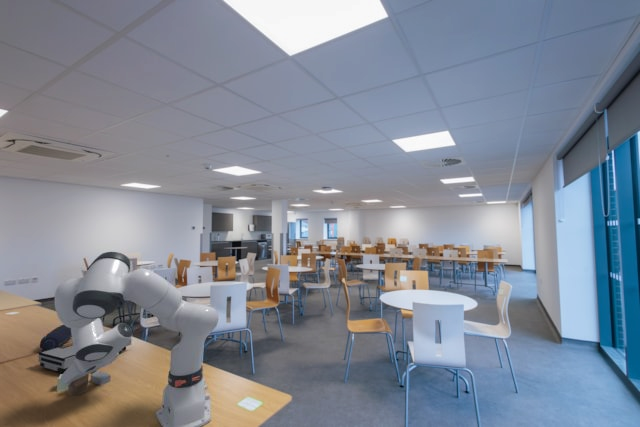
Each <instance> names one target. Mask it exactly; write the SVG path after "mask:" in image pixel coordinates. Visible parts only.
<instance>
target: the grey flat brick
mask: <svg viewBox="0 0 640 427" xmlns="http://www.w3.org/2000/svg"><path fill="white" fill-rule="evenodd" d="M89 381H90V382H91V383H94V385H97V386H103V385H105V384H108V383H110V382H111V374H110V373H106V372H104V371H101V370H100V371H99V372H95V373H93V374H90V380H89Z"/></svg>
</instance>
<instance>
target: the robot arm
mask: <svg viewBox="0 0 640 427" xmlns="http://www.w3.org/2000/svg"><path fill="white" fill-rule="evenodd" d="M86 270H87V271H86V273H85V275H84V276H83V277H74V278H70V279H67V280H66V281H64V282H62V283H61V284H60V285H58V287H57V288H56V290H55V292H54V309H55V311H56V315H57V317H58V320H59V321H60V322H61V323H62V325H65V326H66V327H68V328H70V331H71V334H72V337H71V340H72V345H73V347H74V353H75V357H76V359H75V360H74V361H75V363H73V364H72V365H71V366H70V367H69V368H68V369H67V370H66V371H65V372H64V373H63V372H62V376H61V380H62V381H63V383H64V384H67V386H68V385H70V384H72V383H73V382H74V380H77V379H79V378H81V377H83V376H85V375H87V374H89V375H92V374H95V373H97V371H98V370H100V369H102V368H105V367H107V366H108V365H110V364H112V363H113V362H114V361H115V360H116V359H117V358H118V356H119V355H120V354H119V353H118V352H120V351H121V350H122V349H123V348H124V347H125V346H126V345H127V343H128V342H129V341H130V339H132V337H133V335H134V333H133V329H132V328H131V326H130V325H129V324H127V323H124V322H120V323H117V325H115V326H114V327H112V328H111V329H109V330H106V331H105V330H104V325H103V320H102V319H103V317H106V316H108V315H111V314H112V313H114V312H115V311H117V310H120V309H121V308H123V306H124V305H125V301H130V302H131V303H132V302H133V303H135V305H137V306H139V307H140V308H141V309H143V310H145V311H147V312H148V313H149V314H151V315H153V316H154V318H155V317H156V319H157V322H158V324H159V325H160V326H161V327H163V328H164V329H167V330H168V331H172V332H178V333H181V338H180V341H179V343H177V344H176V345H175V346H173V348H171V351H170V364H169V365H170V366H169V371H168V375H167V380H168V381H167V385H166V386H165V387H164V388H163V389H162V401H161V402H162V404H161V408H160V409H158V410H157V411H156V412H155V417H156V418H157V420H158V421H159V423H160V425H161V426H162V427H203V426H205V425H207V424H208V423H209V422H211V420H212V405H211V403H212V402H211V400H210V399H211V396H210V395H211V394H210V392H205V391H206V390H208V385H207V384H206V378H205V377H204V368H203V365H202V361H203V350H204V349H203V348H204V344H205V341H206V339H207V337H208V336H209V334H211V333H212V332H213V331H214V330H215V329H216V328H217V325H218V323H219V313H218V311H217V309H216V308H214V307H212V306H209V305H207V304H201V303H194V302H190V301H185V300H184V299H183V294H182V291H181V290H179V289H178V288H177V287H175V285H173V284H172V283H170V282H169V281H168V280H167V279H165V278H164V277H162V276H161V275H159V274H158V273H156V272H154V271H152V270H149V269H147V268H142V267H141V268H137V269H135V270H132V271H130V270H131V260H130V258H129V257H128V256H127V255H125V254H123V253H121V252H118V251H117V252H116V251H107V252H103V253H101V254H100V255H98V256H97V257H96V258H95V259H94V260H93V262H91V264H90V265H89V266H88V267H87V268H86ZM126 347H127V346H126ZM121 352H122V351H121Z"/></svg>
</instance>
